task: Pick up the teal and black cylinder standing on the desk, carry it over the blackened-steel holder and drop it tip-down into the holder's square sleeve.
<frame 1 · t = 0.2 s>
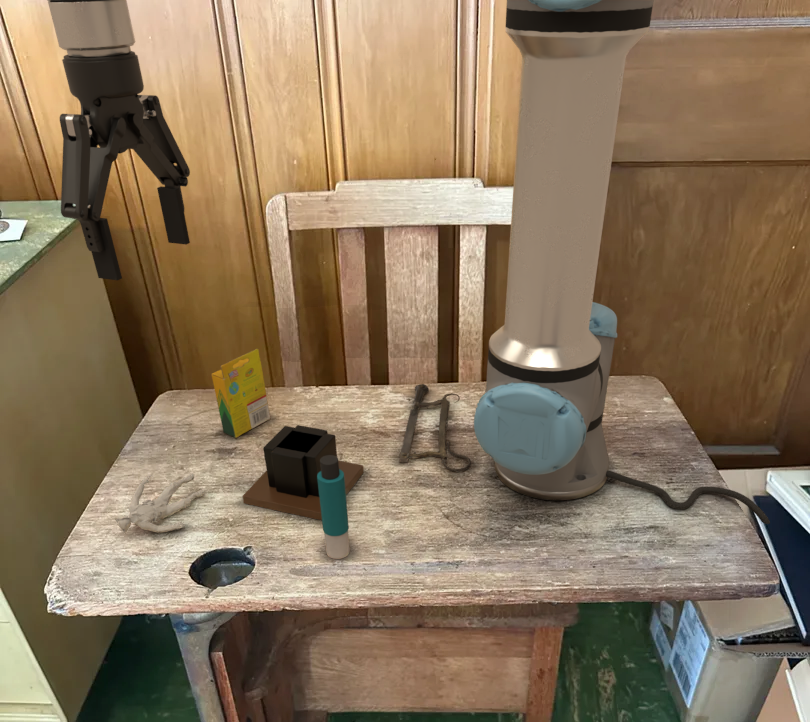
hand: (146, 259, 91), 28 cm above the table, tool pointing down, fingers open, 13 cm apart
hacksaw: (440, 428, 114), on the table
crayon box: (247, 427, 115), on the table
teal and black cylinder: (338, 551, 91), on the table
soldier figure: (165, 518, 97), on the table
holder: (305, 487, 102), on the table
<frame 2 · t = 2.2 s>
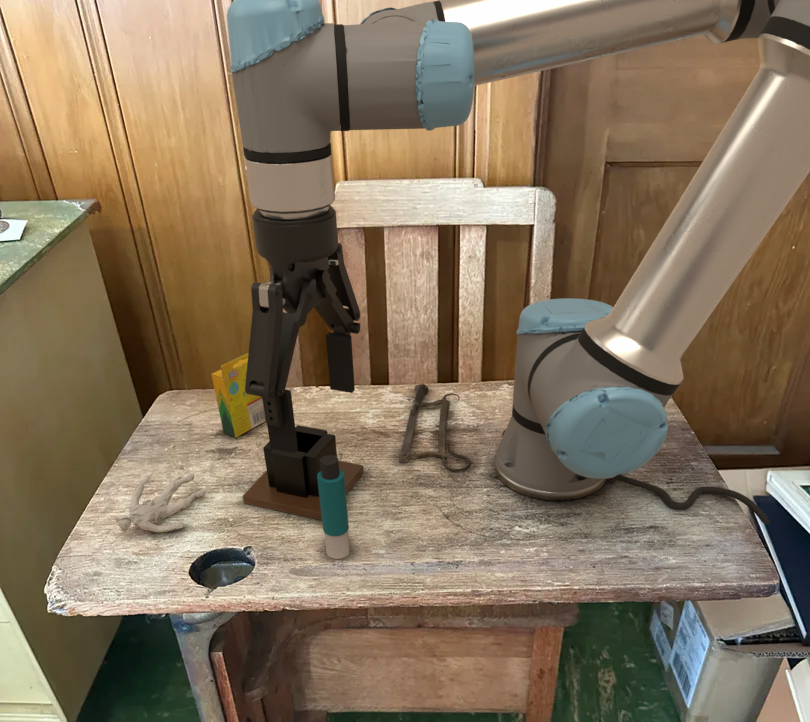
hand: (315, 417, 81), 18 cm above the table, tool pointing down, fingers open, 13 cm apart
nothing on the table moved.
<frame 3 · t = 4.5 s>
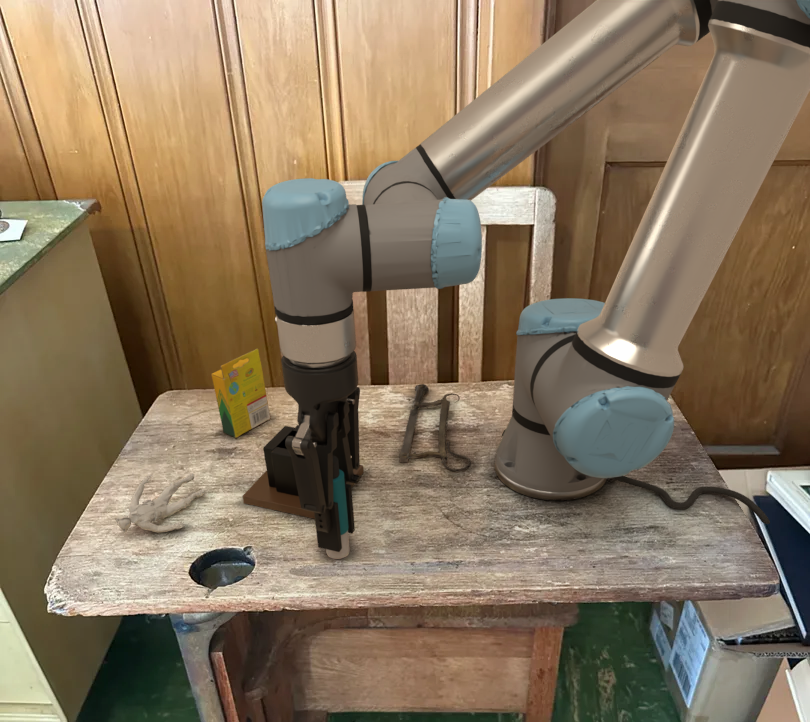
hand: (336, 538, 90), 2 cm above the table, tool pointing down, fingers closed on teal and black cylinder, 3 cm apart
teal and black cylinder: (338, 551, 91), on the table, touching gripper
everything else where it was.
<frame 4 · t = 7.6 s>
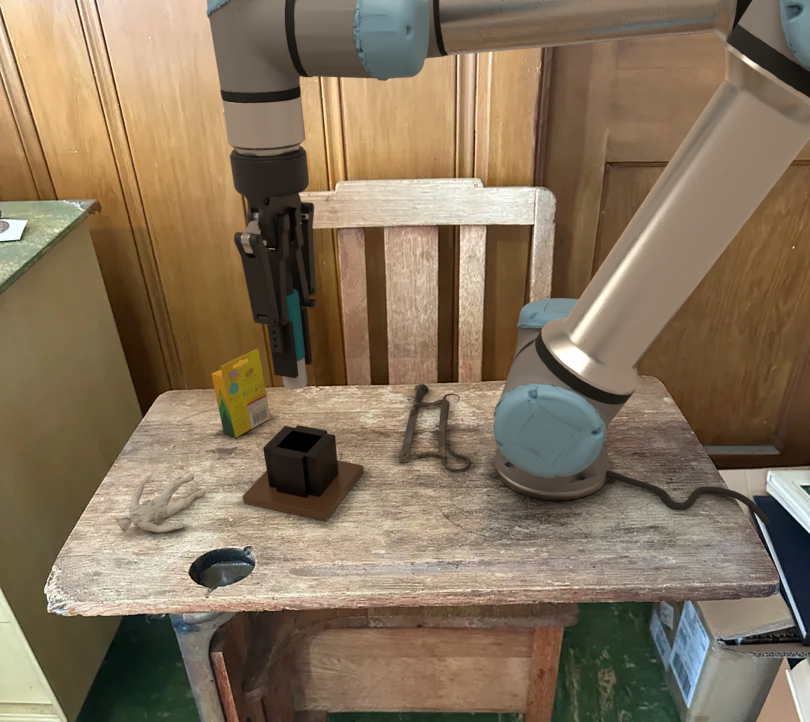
hand: (293, 368, 89), 18 cm above the table, tool pointing down, fingers closed on teal and black cylinder, 3 cm apart
teal and black cylinder: (295, 384, 90), point 16 cm above the table, touching gripper
everything else where it was.
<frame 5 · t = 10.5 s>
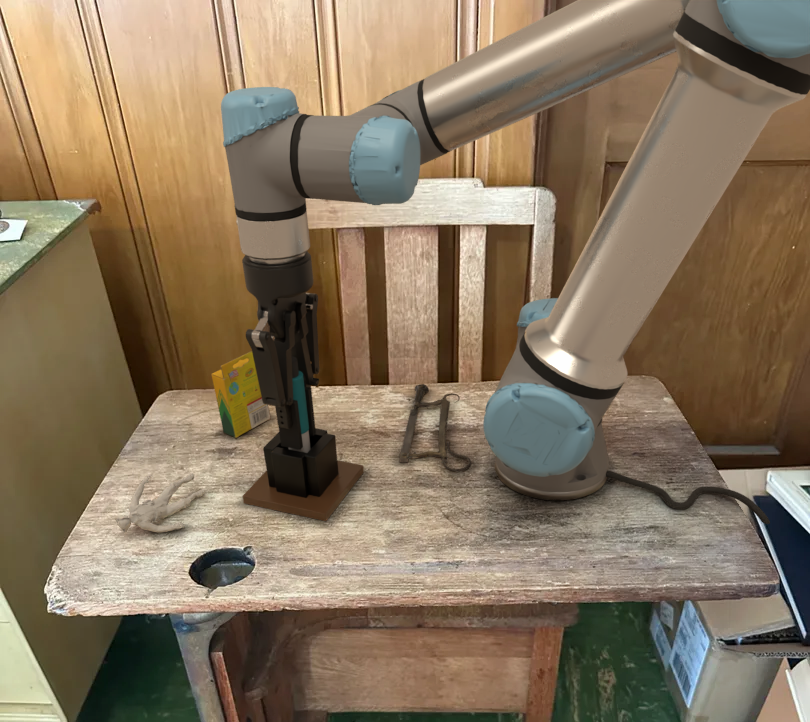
hand: (298, 439, 97), 7 cm above the table, tool pointing down, fingers closed on teal and black cylinder, 3 cm apart
teal and black cylinder: (300, 452, 98), point 5 cm above the table, touching gripper
everything else where it was.
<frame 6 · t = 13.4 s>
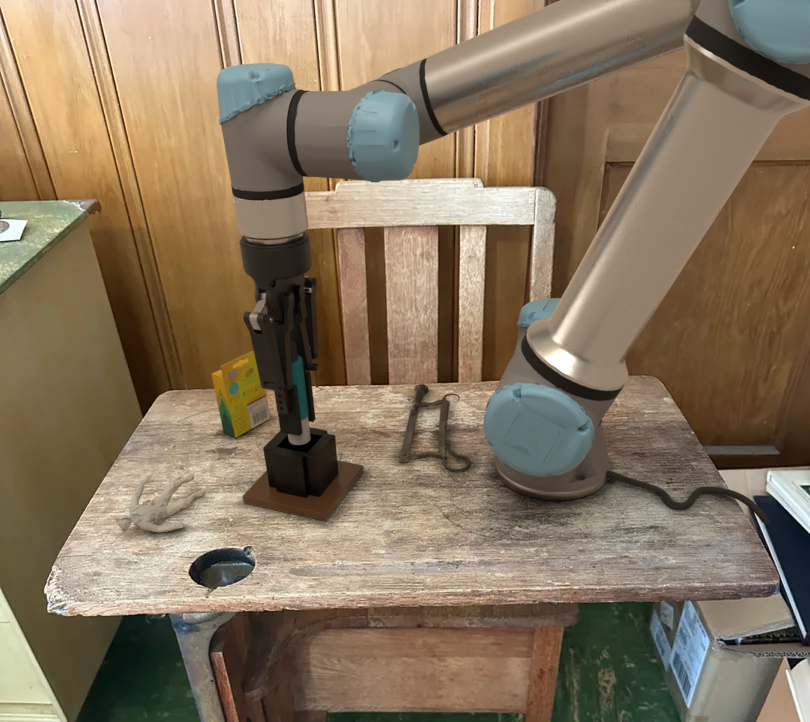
hand: (298, 425, 96), 9 cm above the table, tool pointing down, fingers closed on teal and black cylinder, 3 cm apart
teal and black cylinder: (299, 439, 97), point 7 cm above the table, touching gripper
everything else where it was.
when the fingers open (10 cm above the table, at t = 15.7 s): teal and black cylinder drops 7 cm, resting on holder.
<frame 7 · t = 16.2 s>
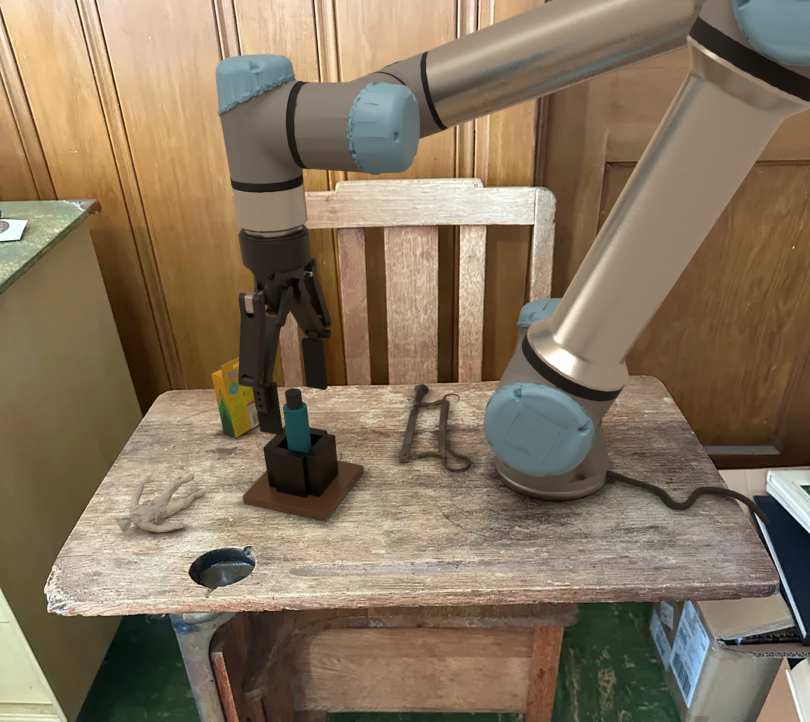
hand: (295, 408, 94), 12 cm above the table, tool pointing down, fingers open, 11 cm apart
teal and black cylinder: (303, 479, 101), point 1 cm above the table, touching holder
everything else where it was.
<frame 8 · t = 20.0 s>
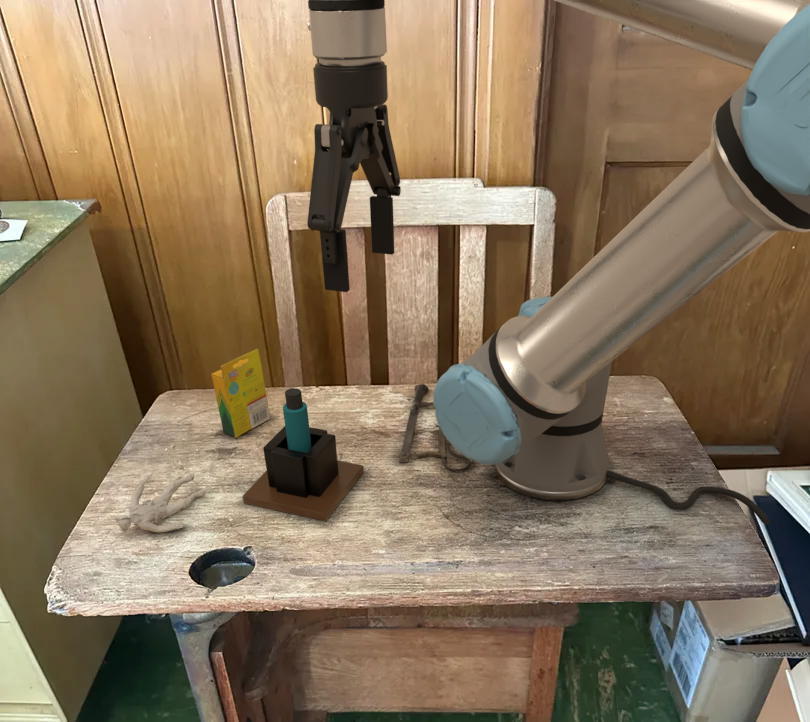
hand: (361, 270, 90), 27 cm above the table, tool pointing down, fingers open, 13 cm apart
nothing on the table moved.
at the end: teal and black cylinder 0.1 cm off-centre on the holder, point 1.2 cm above the holder's base; teal and black cylinder tilted 0° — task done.
